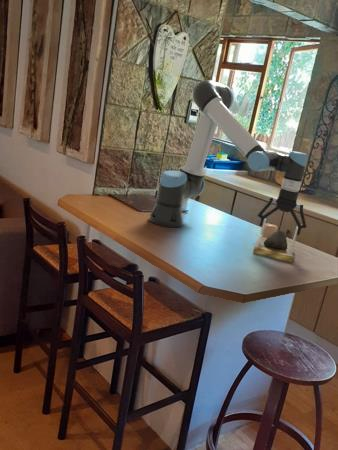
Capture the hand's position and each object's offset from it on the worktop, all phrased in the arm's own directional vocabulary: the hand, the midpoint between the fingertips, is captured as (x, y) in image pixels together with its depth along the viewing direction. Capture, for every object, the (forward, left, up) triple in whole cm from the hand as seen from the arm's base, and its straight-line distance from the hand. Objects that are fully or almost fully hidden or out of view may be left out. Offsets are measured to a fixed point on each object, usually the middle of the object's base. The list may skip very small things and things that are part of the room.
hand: (277, 238), depth 188 cm
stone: (0, -1, -4) cm, 4 cm away
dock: (0, 0, -6) cm, 6 cm away
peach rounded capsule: (-4, +17, -6) cm, 19 cm away
